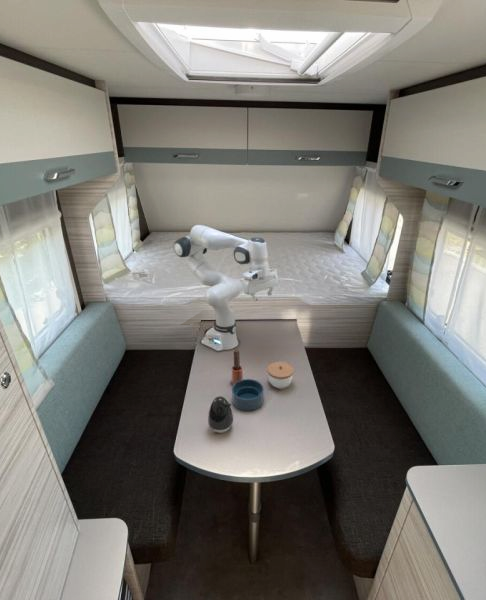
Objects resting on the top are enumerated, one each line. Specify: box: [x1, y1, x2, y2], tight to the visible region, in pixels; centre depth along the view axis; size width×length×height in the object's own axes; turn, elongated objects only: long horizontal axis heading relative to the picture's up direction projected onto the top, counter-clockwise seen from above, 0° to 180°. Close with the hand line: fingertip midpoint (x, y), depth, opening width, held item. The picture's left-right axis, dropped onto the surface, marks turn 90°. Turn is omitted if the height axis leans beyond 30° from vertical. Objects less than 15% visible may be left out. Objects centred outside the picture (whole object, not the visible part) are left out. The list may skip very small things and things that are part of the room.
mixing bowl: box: [231, 378, 265, 412], centre depth 148 cm, size 14×14×7 cm
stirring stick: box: [233, 349, 241, 370], centre depth 157 cm, size 2×2×18 cm
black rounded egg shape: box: [207, 395, 234, 434], centre depth 132 cm, size 10×10×15 cm
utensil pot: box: [231, 364, 244, 386], centre depth 159 cm, size 5×5×9 cm
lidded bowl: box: [267, 361, 294, 390], centre depth 158 cm, size 13×13×11 cm
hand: (262, 297), depth 164 cm, fingers open, 8 cm apart
